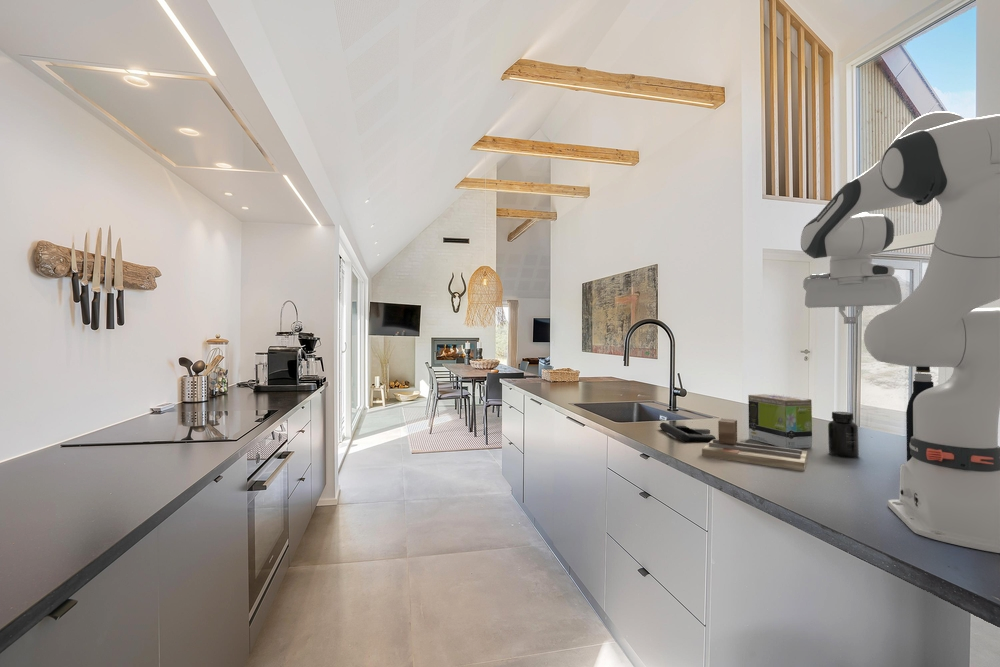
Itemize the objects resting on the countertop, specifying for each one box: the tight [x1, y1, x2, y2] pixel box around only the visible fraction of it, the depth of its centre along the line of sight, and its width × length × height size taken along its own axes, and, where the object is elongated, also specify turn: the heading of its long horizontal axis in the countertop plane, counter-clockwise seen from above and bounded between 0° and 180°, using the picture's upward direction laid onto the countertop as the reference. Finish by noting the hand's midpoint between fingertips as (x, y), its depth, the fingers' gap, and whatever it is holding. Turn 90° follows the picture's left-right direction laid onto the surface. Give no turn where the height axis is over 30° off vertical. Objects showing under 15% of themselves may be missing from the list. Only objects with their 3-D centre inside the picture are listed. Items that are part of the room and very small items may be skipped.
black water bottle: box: [905, 367, 935, 462], centre depth 112 cm, size 6×6×30 cm
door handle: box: [658, 421, 717, 443], centre depth 152 cm, size 3×20×16 cm
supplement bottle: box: [827, 411, 860, 459], centre depth 126 cm, size 7×7×12 cm
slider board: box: [701, 438, 808, 472], centre depth 125 cm, size 14×24×3 cm, turn 53°
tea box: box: [747, 393, 813, 449], centre depth 141 cm, size 15×10×15 cm
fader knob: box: [717, 418, 738, 446], centre depth 129 cm, size 5×4×7 cm
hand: (850, 323), depth 119 cm, fingers closed
